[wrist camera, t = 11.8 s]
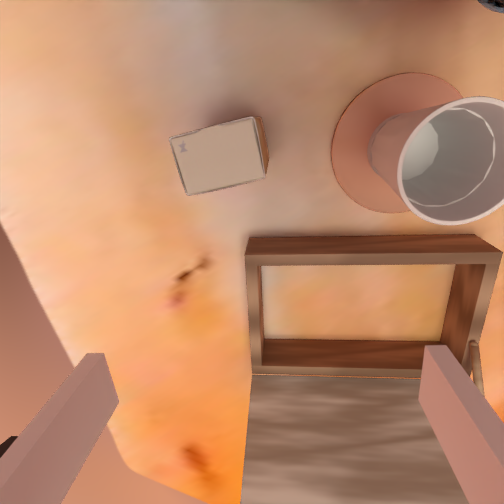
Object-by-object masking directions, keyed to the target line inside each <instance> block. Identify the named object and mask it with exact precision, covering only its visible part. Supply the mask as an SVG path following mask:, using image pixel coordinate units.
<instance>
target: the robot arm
mask: <svg viewBox="0 0 504 504" xmlns="http://www.w3.org/2000/svg"><path fill="white" fill-rule="evenodd" d="M477 1H478V2H479V3H481V4H482V5H483V6H484V7H485V8H487V9H489V10H491V11H494V12H500V13H504V0H477ZM418 400H419V402H420V404H421V406H422V408H423V410H424V413H425V415H426V417H427V419H428V421H429V423H430V425H431V427H432V429H433V431H434V433H435V435H436V437H437V439H438V441H439V443H440V445H441V447H442V449H443V451H444V453H445V455H446V457H447V459H448V461H449V463H450V465H451V467H452V470H453V472H454V474H455V476H456V478H457V480H458V482H459V484H460V486H461V488H462V490H463V492H464V494H465V496H466V498H467V500H468V502H469V504H504V423H503V422H502V421H501V419H500V418H499V416H498V415H497V414H496V412H495V411H494V410H493V408H492V407H491V406H490V404H489V403H488V401H487V400H486V399H485V397H484V396H483V395H482V393H481V392H480V391H479V389H478V388H477V386H476V385H475V384H474V382H473V381H472V380H471V378H470V377H469V376H468V374H467V373H466V372H465V370H464V369H463V367H462V366H461V365H460V363H459V362H458V361H457V359H456V358H455V357H454V355H453V354H452V352H451V351H450V350H449V348H448V347H447V346H446V345H426V346H425V350H424V358H423V366H422V374H421V382H420V390H419V398H418ZM118 403H119V399H118V396H117V393H116V390H115V387H114V384H113V381H112V377H111V374H110V371H109V368H108V365H107V362H106V359H105V355H104V353H87V354H86V355H85V357H84V358H83V359H82V360H81V361H80V363H79V364H78V365H77V366H76V367H75V369H74V370H73V371H72V372H71V373H70V375H69V376H68V377H67V378H66V379H65V381H64V382H63V383H62V384H61V385H60V387H59V388H58V389H57V390H56V392H55V393H54V394H53V395H52V396H51V398H50V399H49V400H48V401H47V402H46V404H45V405H44V406H43V407H42V408H41V410H40V411H39V412H38V414H37V415H36V416H35V417H34V418H33V419H32V421H31V422H30V423H29V424H28V425H27V427H26V428H25V429H24V430H23V431H22V433H21V434H20V435H19V436H11V437H10V438H9V439H7V440H6V441H5V442H4V443H2V444H1V445H0V504H61V503H62V501H63V499H64V498H65V496H66V494H67V492H68V490H69V489H70V487H71V485H72V483H73V482H74V480H75V478H76V477H77V475H78V473H79V471H80V470H81V468H82V466H83V464H84V463H85V461H86V459H87V457H88V456H89V454H90V452H91V450H92V448H93V447H94V445H95V443H96V442H97V440H98V438H99V436H100V435H101V433H102V431H103V429H104V428H105V426H106V424H107V422H108V421H109V419H110V417H111V415H112V414H113V412H114V410H115V408H116V407H117V405H118Z"/></svg>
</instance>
